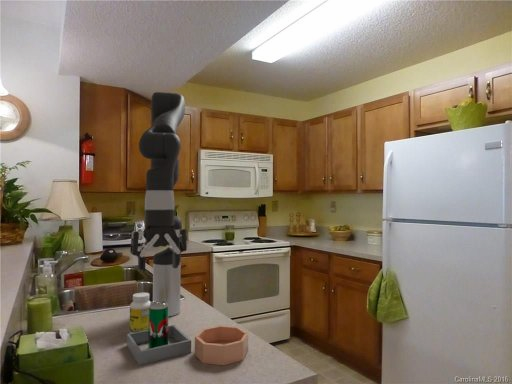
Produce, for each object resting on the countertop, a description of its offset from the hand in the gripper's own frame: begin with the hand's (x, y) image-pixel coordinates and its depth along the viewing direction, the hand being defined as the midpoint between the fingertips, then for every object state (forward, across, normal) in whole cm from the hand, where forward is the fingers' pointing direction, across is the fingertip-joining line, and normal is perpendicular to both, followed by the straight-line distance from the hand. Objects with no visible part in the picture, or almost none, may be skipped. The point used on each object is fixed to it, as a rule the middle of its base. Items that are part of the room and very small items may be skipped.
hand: (159, 269), depth 91 cm
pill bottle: (+21, +1, -14) cm, 25 cm away
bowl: (+21, -13, +11) cm, 27 cm away
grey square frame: (+21, 0, 0) cm, 21 cm away
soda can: (+21, 0, 0) cm, 21 cm away
